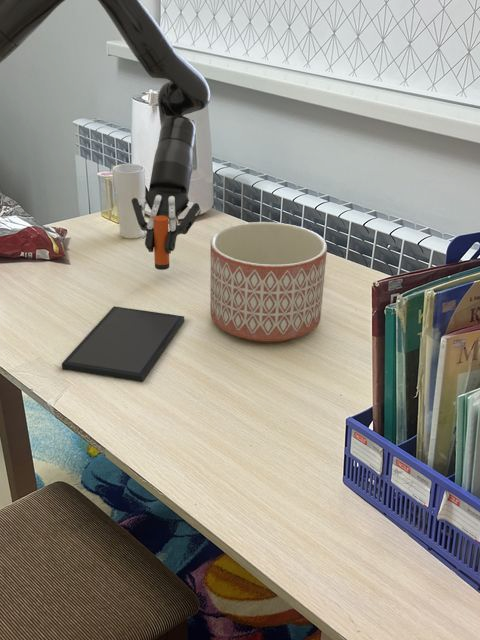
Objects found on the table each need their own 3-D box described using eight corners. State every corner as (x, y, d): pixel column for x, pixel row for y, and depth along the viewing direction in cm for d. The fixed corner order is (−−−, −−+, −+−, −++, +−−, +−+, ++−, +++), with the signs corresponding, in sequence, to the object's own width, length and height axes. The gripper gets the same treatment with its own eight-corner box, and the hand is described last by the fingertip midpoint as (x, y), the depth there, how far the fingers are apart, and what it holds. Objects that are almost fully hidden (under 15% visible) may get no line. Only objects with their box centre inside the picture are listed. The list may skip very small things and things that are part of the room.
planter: (194, 306, 125) (193, 229, 118) (289, 290, 132) (293, 216, 125) (236, 358, 110) (238, 273, 103) (339, 336, 118) (349, 256, 110)
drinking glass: (126, 227, 157) (122, 162, 150) (153, 232, 156) (150, 166, 148) (111, 237, 152) (106, 169, 144) (138, 242, 150) (135, 174, 142)
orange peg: (152, 268, 133) (150, 219, 128) (157, 263, 136) (156, 214, 131) (166, 270, 133) (165, 221, 128) (171, 265, 135) (170, 216, 130)
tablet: (62, 369, 106) (61, 363, 105) (114, 311, 122) (113, 305, 122) (142, 382, 103) (142, 376, 103) (184, 321, 120) (184, 316, 120)
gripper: (132, 156, 131) (117, 240, 127) (205, 162, 130) (192, 246, 126) (141, 175, 139) (127, 255, 134) (210, 181, 138) (198, 262, 133)
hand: (159, 251), depth 130 cm, fingers closed on orange peg, 2 cm apart
